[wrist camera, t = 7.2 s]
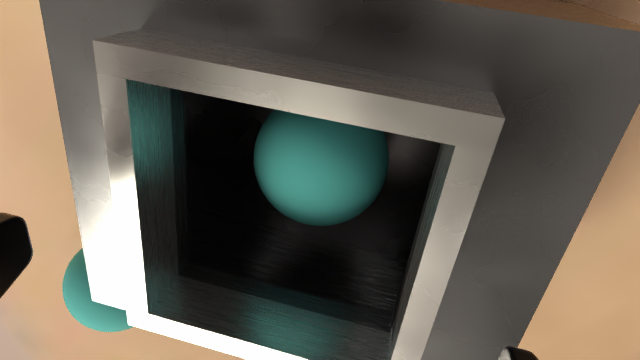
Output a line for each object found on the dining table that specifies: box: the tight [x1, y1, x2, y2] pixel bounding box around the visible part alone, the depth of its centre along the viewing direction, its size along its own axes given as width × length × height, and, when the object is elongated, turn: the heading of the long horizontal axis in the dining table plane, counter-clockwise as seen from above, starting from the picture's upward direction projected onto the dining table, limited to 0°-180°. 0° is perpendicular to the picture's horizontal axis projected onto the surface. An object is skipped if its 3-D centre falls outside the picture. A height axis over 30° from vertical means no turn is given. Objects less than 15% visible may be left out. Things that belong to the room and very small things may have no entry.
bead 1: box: [63, 248, 134, 332], centre depth 18 cm, size 4×4×4 cm
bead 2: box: [254, 109, 389, 226], centre depth 13 cm, size 4×4×4 cm
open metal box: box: [39, 0, 640, 360], centre depth 12 cm, size 12×10×7 cm
